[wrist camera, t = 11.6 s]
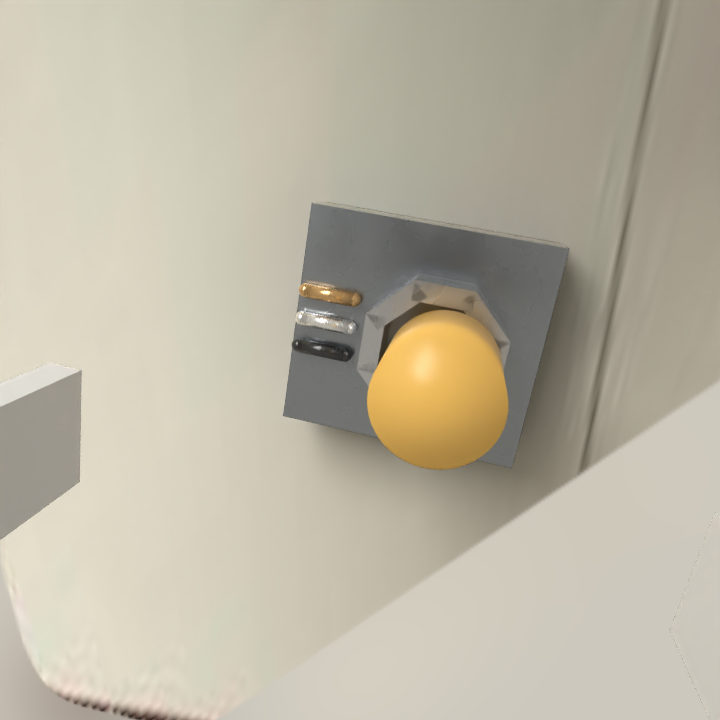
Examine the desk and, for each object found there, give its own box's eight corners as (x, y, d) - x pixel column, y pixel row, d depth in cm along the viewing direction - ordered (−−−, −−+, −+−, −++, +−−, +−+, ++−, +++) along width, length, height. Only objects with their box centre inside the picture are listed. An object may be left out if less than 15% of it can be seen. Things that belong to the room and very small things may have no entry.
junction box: (301, 395, 35) (267, 433, 29) (329, 202, 31) (296, 203, 26) (508, 441, 33) (515, 491, 27) (559, 242, 30) (578, 253, 24)
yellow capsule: (386, 386, 30) (357, 452, 22) (404, 289, 28) (379, 324, 21) (486, 407, 29) (490, 483, 22) (509, 309, 28) (523, 352, 20)
